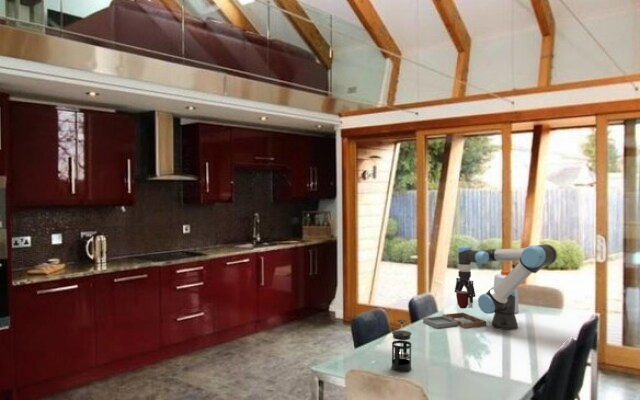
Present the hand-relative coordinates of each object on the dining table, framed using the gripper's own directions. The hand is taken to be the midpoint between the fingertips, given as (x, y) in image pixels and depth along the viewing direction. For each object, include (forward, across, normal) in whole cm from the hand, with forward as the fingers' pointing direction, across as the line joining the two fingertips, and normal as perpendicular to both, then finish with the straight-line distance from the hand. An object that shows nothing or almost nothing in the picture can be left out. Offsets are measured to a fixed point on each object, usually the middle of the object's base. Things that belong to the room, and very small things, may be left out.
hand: (464, 306), depth 316 cm
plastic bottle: (+11, -15, +45) cm, 48 cm away
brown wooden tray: (+11, -1, 0) cm, 11 cm away
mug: (+2, 0, 0) cm, 2 cm away
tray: (+10, -2, -17) cm, 20 cm away
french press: (+12, +56, -79) cm, 98 cm away
